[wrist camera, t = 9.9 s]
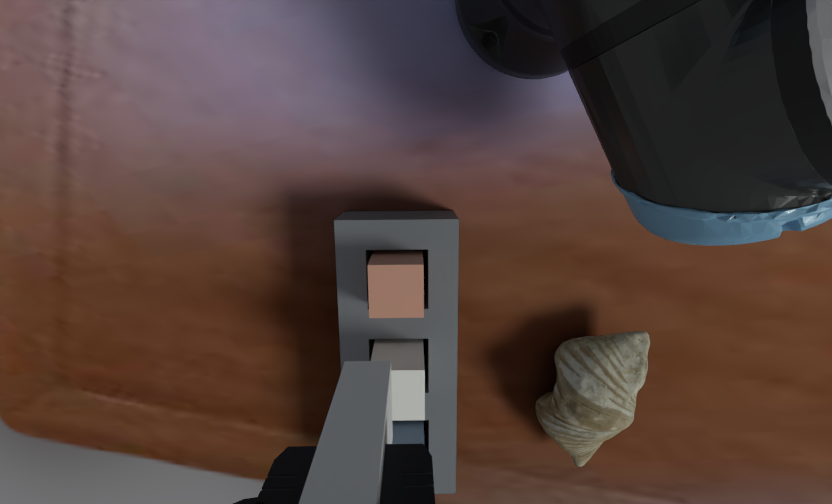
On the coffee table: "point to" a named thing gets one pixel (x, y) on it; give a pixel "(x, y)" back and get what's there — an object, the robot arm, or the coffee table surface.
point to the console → (438, 326)
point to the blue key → (408, 432)
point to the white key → (404, 375)
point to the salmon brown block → (396, 284)
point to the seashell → (594, 391)
